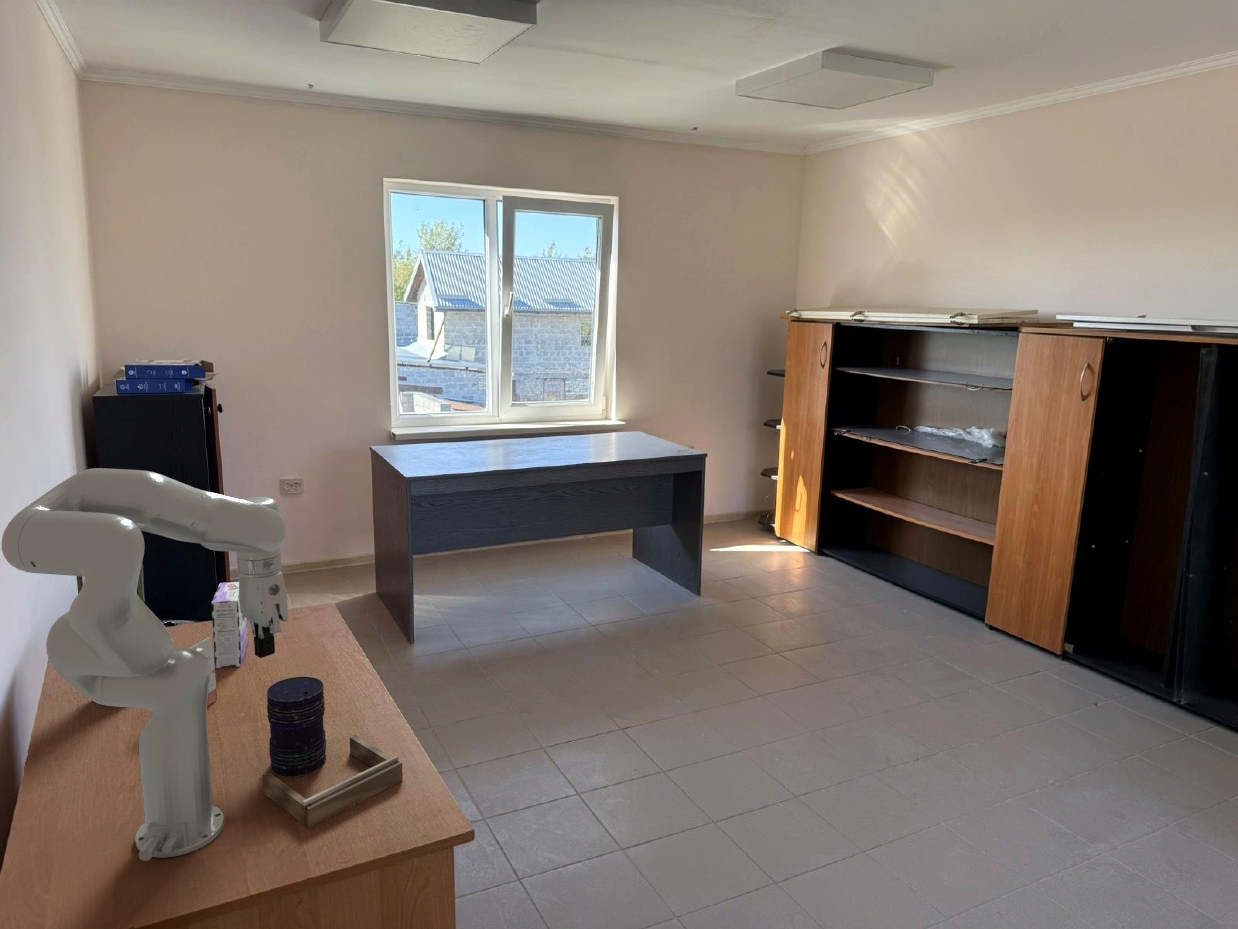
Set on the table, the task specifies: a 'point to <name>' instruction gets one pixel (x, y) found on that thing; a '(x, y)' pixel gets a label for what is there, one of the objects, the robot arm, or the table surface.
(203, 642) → the ink cartridge box
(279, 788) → the dock
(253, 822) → the table surface
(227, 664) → the candy box
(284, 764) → the dark blue cylinder
